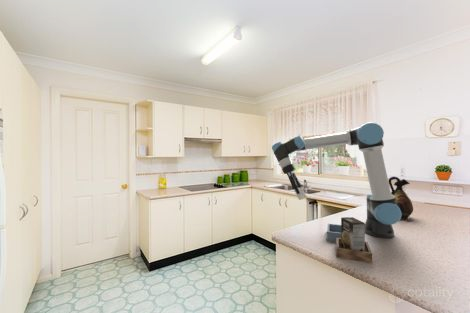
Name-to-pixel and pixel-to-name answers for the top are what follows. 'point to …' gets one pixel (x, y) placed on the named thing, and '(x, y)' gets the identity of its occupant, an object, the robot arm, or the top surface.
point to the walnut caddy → (354, 252)
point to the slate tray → (333, 232)
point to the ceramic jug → (401, 197)
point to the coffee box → (352, 234)
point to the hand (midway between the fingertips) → (303, 198)
